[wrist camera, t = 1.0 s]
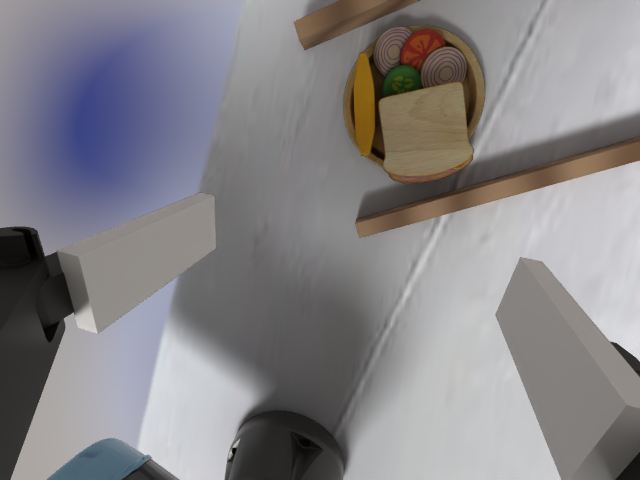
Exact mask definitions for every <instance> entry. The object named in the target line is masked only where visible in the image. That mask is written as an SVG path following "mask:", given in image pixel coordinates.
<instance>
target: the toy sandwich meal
mask: <svg viewBox="0 0 640 480" xmlns="http://www.w3.org/2000/svg"><path fill="white" fill-rule="evenodd" d="M484 100H485V83H484V77H483V73H482V69H481V67H480V64H479V62H478V60H477V58H476V56H475V54H474V53H473V51H472V50H471V49H470V47H469V46H468V45H467V44H466V43H465V42H464V41H463V40H462V39H460V38H459V37H458V36H456V35H455V34H453V33H451V32H449V31H447V30H445V29H442V28H439V27H435V26H429V25H413V26H407V27H394V28H391V29H389V30H387V31H385V32H384V33H383V34H382V35H381V36H380V38H379V39H378V40H377V41H375V42H374V43H373V44H372V45H370V46H369V47H368V48H367V49H366V50H365V52H361V53H359V57H358V60H357V62H356V64H355V65H354V67H353V69H352V71H351V73H350V75H349V78H348V81H347V84H346V88H345V92H344V101H343V112H344V119H345V124H346V127H347V130H348V133H349V135H350V137H351V139H352V141H353V143H354V144H355V146H356V147H357V149H358V150H359V151H360V152H361V155H362V156H365V157H366V158H367V159H368V160H370V161H371V162H373V163H374V164H376V165H378V166H380V167H382V168H383V169H384V170H385V171H386V172H387V173H389V177H390V178H391V179H392V180H394V181H397V182H402V183H423V182H430V181H434V180H438V179H441V178H444V177H447V176H449V175H452V174H454V173H456V172H458V171H460V170H461V169H463V168H464V167H466V166H467V165H468V164H469V163H471V161H472V160H473V152H474V149H473V147H472V146H471V145H470V143H469V139H470V138H471V136H472V135H473V133H474V131H475V129H476V127H477V125H478V123H479V120H480V117H481V114H482V111H483V107H484Z"/></svg>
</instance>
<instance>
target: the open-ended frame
mask: <svg viewBox="0 0 640 480" xmlns="http://www.w3.org/2000/svg"><path fill="white" fill-rule="evenodd" d="M418 1H420V0H340V1H338V2H336V3H334V4H332V5H329V6H327V7H325V8H323V9H321V10H318V11H316V12H314V13H312V14H310V15H307V16H305V17H303V18H301V19H299V20H296V21H294V24H295V28H296V31H297V34H298V37H299V40H300V42H301V44H302V46H303V47H304V49H305V50H306V49H309V48H311V47H313V46H316V45H318V44H320V43H322V42H325V41H327V40H329V39H332V38H334V37H336V36H339V35H341V34H343V33H346V32H348V31H350V30H353V29H355V28H357V27H360V26H362V25H364V24H367V23H369V22H371V21H374V20H376V19H378V18H381V17H383V16H385V15H388V14H390V13H392V12H394V11H397V10H399V9H401V8H404V7H406V6H408V5H411V4H413V3H415V2H418ZM639 160H640V137H636V138H633V139H629V140H626V141H623V142H619V143H616V144H612V145H609V146H605V147H602V148H599V149H595V150H592V151H588V152H585V153H582V154H578V155H575V156H571V157H568V158H564V159H561V160H558V161H554V162H551V163H547V164H544V165H540V166H537V167H534V168H530V169H527V170H523V171H520V172H516V173H513V174H510V175H506V176H503V177H499V178H496V179H493V180H489V181H486V182H482V183H479V184H475V185H472V186H469V187H465V188H462V189H458V190H455V191H451V192H448V193H445V194H441V195H438V196H434V197H431V198H428V199H424V200H421V201H417V202H414V203H410V204H407V205H404V206H400V207H397V208H393V209H390V210H386V211H383V212H380V213H376V214H373V215H369V216H366V217H362V218H359V219H356V223H355V225H356V228H357V231H358V234H359V238H362V237H366V236H369V235H373V234H377V233H380V232H384V231H387V230H391V229H395V228H398V227H402V226H405V225H409V224H413V223H416V222H420V221H423V220H427V219H430V218H434V217H438V216H441V215H445V214H448V213H452V212H456V211H459V210H463V209H466V208H470V207H474V206H477V205H481V204H484V203H488V202H492V201H495V200H499V199H502V198H506V197H510V196H513V195H517V194H520V193H524V192H528V191H531V190H535V189H538V188H542V187H546V186H549V185H553V184H556V183H560V182H564V181H567V180H571V179H574V178H578V177H582V176H585V175H589V174H592V173H596V172H600V171H603V170H607V169H610V168H614V167H618V166H621V165H625V164H628V163H632V162H636V161H639Z"/></svg>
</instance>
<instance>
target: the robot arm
mask: <svg viewBox="0 0 640 480" xmlns="http://www.w3.org/2000/svg"><path fill="white" fill-rule="evenodd" d="M214 249H216V225H215V195H210V194H205V193H198V194H195V195H193V196H190V197H188V198H185V199H183V200H180V201H178V202H175V203H173V204H171V205H168V206H165V207H163V208H161V209H158V210H156V211H153V212H151V213H148V214H146V215H143V216H141V217H138V218H136V219H133V220H131V221H129V222H126V223H124V224H121V225H119V226H116V227H114V228H111V229H109V230H106V231H104V232H102V233H99V234H97V235H94V236H92V237H89V238H87V239H84V240H82V241H79V242H77V243H75V244H72V245H70V246H67V247H65V248H62V249H60V250H57V252H55V253H53V254H51V255H48V256H46V257H45V255H44V252H43V248H42V245H41V242H40V238H39V235H38V232H37V230H35V229H34V228H29V227H6V228H0V480H10V479H11V476H12V474H13V471H14V468H15V465H16V463H17V460H18V457H19V454H20V452H21V449H22V446H23V443H24V441H25V438H26V435H27V432H28V430H29V427H30V424H31V422H32V419H33V416H34V413H35V410H36V408H37V405H38V402H39V400H40V397H41V394H42V391H43V389H44V386H45V383H46V380H47V378H48V375H49V372H50V369H51V367H52V364H53V361H54V359H55V356H56V353H57V350H58V348H59V345H60V342H61V339H62V336H63V334H64V331H65V322H64V319H63V318H65V317H66V316H68V315H70V314H72V313H73V312H74V315H75V318H76V322H77V325H78V328H81V329H84V330H87V331H90V332H93V333H97V334H98V333H100V332H101V331H102V330H104V329H105V328H107V327H108V326H109V325H111V324H112V323H114V322H115V321H116V320H118V319H119V318H121V317H122V316H123V315H125V314H126V313H127V312H129V311H130V310H132V309H133V308H134V307H136V306H137V305H139V304H140V303H141V302H143V301H144V300H145V299H147V298H148V297H150V296H151V295H152V294H154V293H155V292H156V291H158V290H159V289H161V288H162V287H163V286H165V285H166V284H168V282H170V281H171V280H173V279H174V278H176V277H177V276H179V275H180V274H181V273H183V272H184V271H185V270H187V269H188V268H190V267H191V266H192V265H194V264H195V263H197V262H198V261H199V260H201V259H202V258H203V257H205V256H206V255H208V254H209V253H210V252H212V251H213V250H214ZM495 315H496V318H497V320H498V323H499V325H500V328H501V330H502V333H503V335H504V338H505V340H506V343H507V345H508V348H509V350H510V353H511V355H512V357H513V360H514V362H515V365H516V367H517V370H518V372H519V375H520V377H521V380H522V382H523V385H524V387H525V390H526V392H527V395H528V397H529V400H530V402H531V405H532V407H533V410H534V412H535V415H536V417H537V420H538V422H539V425H540V427H541V430H542V432H543V435H544V437H545V440H546V442H547V445H548V447H549V450H550V452H551V455H552V457H553V460H554V462H555V465H556V467H557V470H558V472H559V475H560V477H561V480H640V362H639V361H638V359H637V358H636V357H634V356H633V355H632V354H630V353H629V352H628V351H626V350H625V349H624V348H622V347H621V346H620V345H618V344H617V343H614V342H610V341H609V340H608V339H607V338H606V337H605V335H604V334H603V333H602V332H601V331H600V330H599V328H598V327H597V326H596V325H595V324H594V322H593V321H592V320H591V319H590V318H589V316H588V315H587V314H586V313H585V312H584V310H583V309H582V308H581V307H580V306H579V305H578V303H577V302H576V301H575V300H574V299H573V297H572V296H571V295H570V294H569V293H568V291H567V290H566V289H565V288H564V287H563V286H562V284H561V283H560V282H559V281H558V280H557V278H556V277H555V276H554V275H553V274H552V272H551V271H550V270H549V269H548V268H547V267H546V265H545V264H544V263H543V262H542V261H537V260H532V259H527V258H522V257H520V259H519V261H518V264H517V266H516V268H515V271H514V273H513V275H512V277H511V280H510V282H509V284H508V287H507V289H506V291H505V294H504V296H503V298H502V300H501V303H500V305H499V307H498V310H497V312H496V314H495ZM151 458H152V457H151V456H149V455H144V454H142V453H141V452H139V451H137V450H136V449H134V448H133V447H131V446H130V445H128V444H126V443H125V442H123V441H122V440H119V439H116V438H108V439H103V440H101V441H98V442H96V443H95V444H92V445H91V446H89V447H87V448H86V449H85V450H83V451H82V452H80V453H79V454H78V455H76V456H75V457H74V458H72V459H71V460H70V461H68V462H67V463H66V464H65V465H63V466H62V467H61V468H60V469H59V470H57V471H56V472H55V473H54V474H53V475H51V476H50V477H49V478H48V479H47V480H179V479H178V478H177V477H175V476H174V475H172V474H171V473H170V472H168V471H167V470H166V469H164V468H163V467H161V466H160V465H159V464H157V463H156V462H155V461H153V460H152V459H151ZM343 473H344V461H343V456H342V453H341V450H340V448H339V446H338V444H337V443H336V441H335V440H334V438H333V437H332V436H331V435H330V434H329V433H328V432H327V431H326V430H325V429H324V428H323V427H321V426H320V425H319V424H317V423H316V422H314V421H312V420H310V419H308V418H306V417H304V416H301V415H298V414H294V413H290V412H281V411H276V412H267V413H263V414H259V415H257V416H255V417H253V418H251V419H249V420H248V421H247V422H246V423H244V424H243V426H242V427H241V428H240V429H239V431H238V433H237V435H236V437H235V439H234V441H233V443H232V445H231V447H230V450H229V454H228V459H227V466H226V473H225V480H343Z"/></svg>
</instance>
